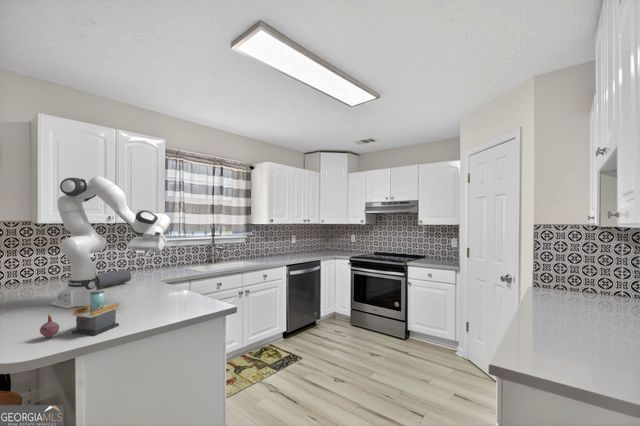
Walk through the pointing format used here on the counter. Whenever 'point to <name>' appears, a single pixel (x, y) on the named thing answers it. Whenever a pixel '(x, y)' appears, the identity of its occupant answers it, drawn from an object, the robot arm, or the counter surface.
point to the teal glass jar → (96, 300)
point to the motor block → (95, 320)
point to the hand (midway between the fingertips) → (138, 255)
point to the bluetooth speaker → (112, 279)
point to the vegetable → (49, 328)
